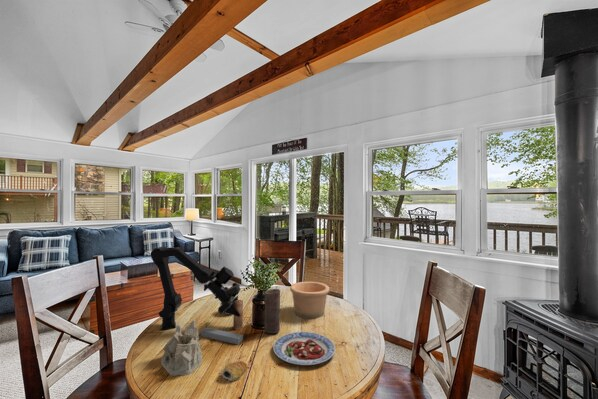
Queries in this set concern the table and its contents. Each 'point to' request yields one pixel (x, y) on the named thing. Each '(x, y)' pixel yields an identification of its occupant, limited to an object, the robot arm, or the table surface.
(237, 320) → the rod
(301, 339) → the ceramic plate
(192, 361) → the grey castle model
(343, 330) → the table surface
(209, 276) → the robot arm
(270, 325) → the candle
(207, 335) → the ridge
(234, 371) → the pastry
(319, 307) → the pottery
